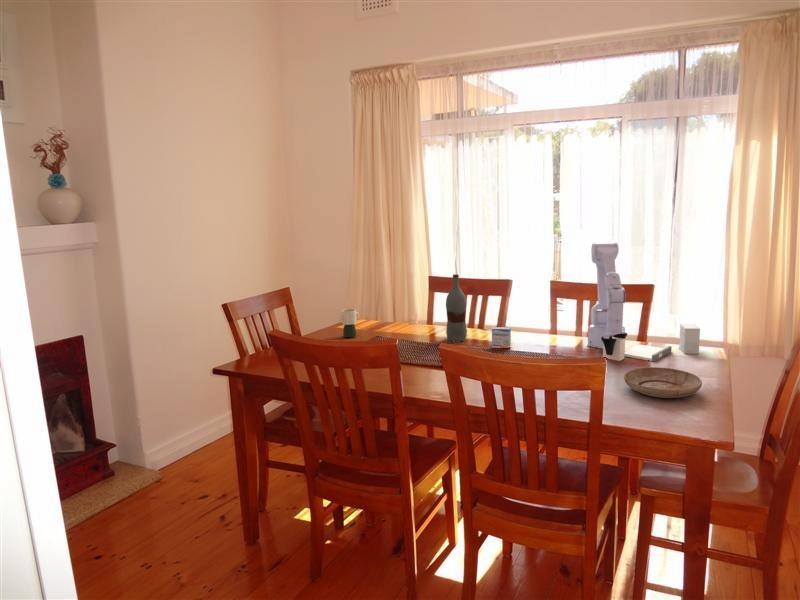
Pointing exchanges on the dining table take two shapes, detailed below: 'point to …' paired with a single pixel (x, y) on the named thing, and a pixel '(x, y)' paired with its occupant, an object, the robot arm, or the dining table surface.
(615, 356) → the carton
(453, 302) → the bottle
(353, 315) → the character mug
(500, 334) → the medicine box
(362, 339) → the dining table surface
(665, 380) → the ceramic bowl
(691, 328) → the small box
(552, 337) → the dining table surface
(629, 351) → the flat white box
